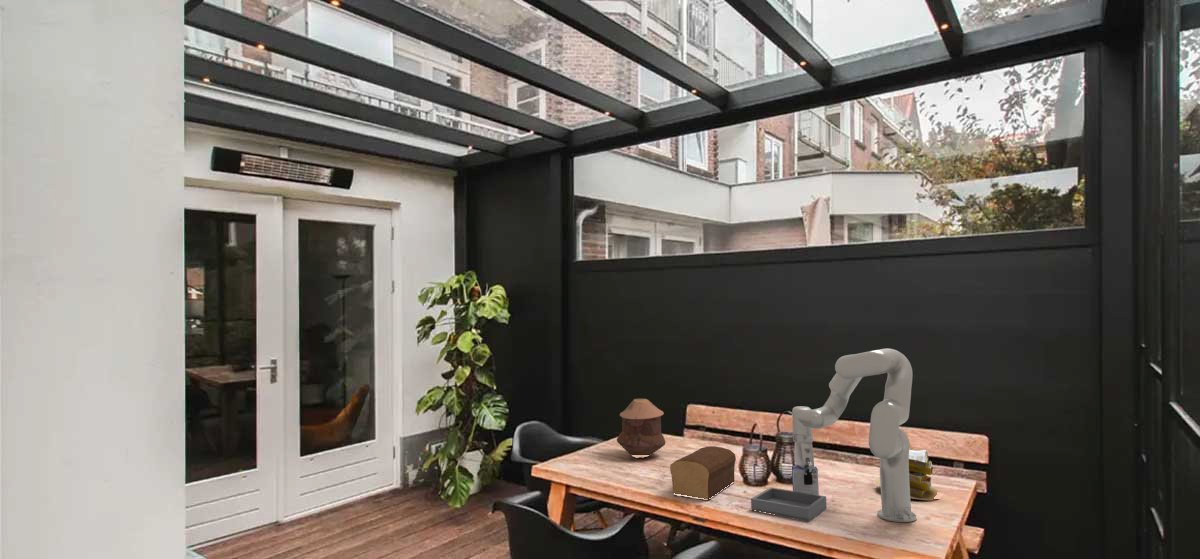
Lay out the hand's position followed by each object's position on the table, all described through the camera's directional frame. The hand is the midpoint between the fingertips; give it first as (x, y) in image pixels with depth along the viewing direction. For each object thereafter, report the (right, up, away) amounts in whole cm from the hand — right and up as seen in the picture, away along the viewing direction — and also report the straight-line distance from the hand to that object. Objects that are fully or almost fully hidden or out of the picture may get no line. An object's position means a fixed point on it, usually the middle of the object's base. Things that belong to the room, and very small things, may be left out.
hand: (804, 481), depth 246 cm
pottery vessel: (-60, -13, +78) cm, 99 cm away
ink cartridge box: (+1, -7, -1) cm, 7 cm away
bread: (-37, -9, +16) cm, 41 cm away
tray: (-10, -6, -14) cm, 18 cm away
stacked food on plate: (+44, -6, +3) cm, 44 cm away
